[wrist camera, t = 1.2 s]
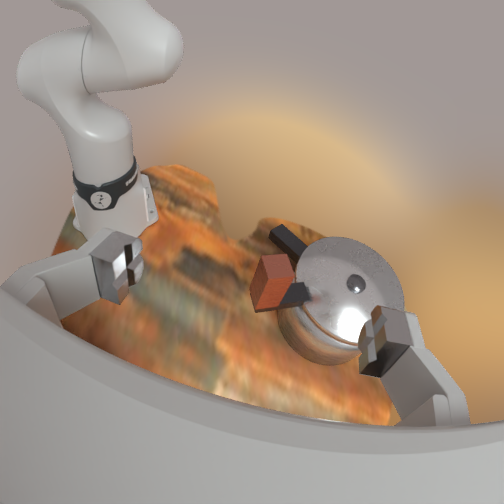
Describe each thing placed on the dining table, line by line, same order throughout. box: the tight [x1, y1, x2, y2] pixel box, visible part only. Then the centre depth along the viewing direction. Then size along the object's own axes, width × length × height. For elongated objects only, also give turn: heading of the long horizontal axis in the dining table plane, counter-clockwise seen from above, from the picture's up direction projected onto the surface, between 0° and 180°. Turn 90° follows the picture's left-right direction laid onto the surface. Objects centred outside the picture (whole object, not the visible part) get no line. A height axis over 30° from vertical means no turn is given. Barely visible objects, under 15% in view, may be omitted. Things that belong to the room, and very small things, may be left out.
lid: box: [250, 237, 404, 346], centre depth 36 cm, size 25×19×8 cm
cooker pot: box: [268, 224, 361, 366], centre depth 45 cm, size 27×18×10 cm
